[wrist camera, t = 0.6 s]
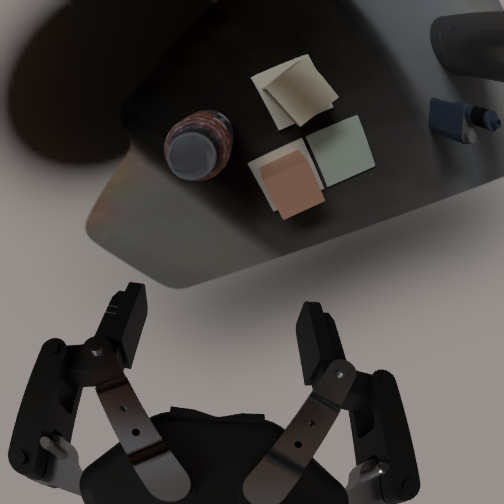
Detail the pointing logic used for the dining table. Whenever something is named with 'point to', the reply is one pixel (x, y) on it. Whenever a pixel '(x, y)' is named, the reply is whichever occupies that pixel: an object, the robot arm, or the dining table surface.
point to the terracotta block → (291, 184)
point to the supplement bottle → (199, 145)
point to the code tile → (275, 155)
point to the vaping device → (461, 120)
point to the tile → (275, 111)
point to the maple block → (300, 92)
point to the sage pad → (341, 150)
